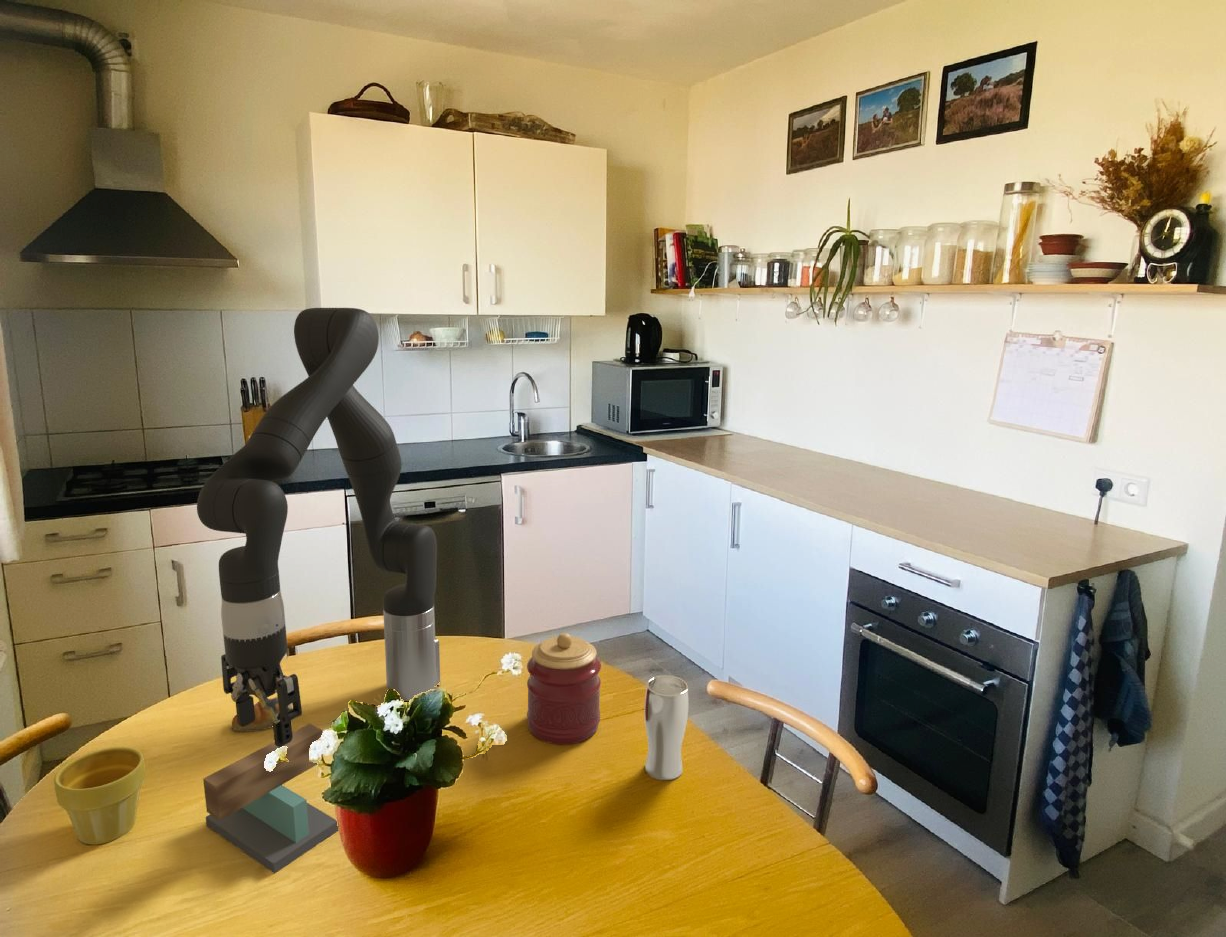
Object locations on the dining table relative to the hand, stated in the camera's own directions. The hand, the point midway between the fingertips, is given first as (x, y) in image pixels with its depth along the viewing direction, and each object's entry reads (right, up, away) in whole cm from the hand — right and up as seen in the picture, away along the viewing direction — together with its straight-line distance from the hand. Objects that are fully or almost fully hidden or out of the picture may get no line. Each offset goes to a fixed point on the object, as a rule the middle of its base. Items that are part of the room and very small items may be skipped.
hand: (264, 733), depth 104 cm
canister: (+39, -10, +31) cm, 51 cm away
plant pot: (-23, -14, +3) cm, 27 cm away
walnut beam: (0, -8, +2) cm, 8 cm away
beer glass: (+56, -13, +19) cm, 61 cm away
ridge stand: (0, -15, +3) cm, 15 cm away
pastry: (-14, -9, +30) cm, 34 cm away
